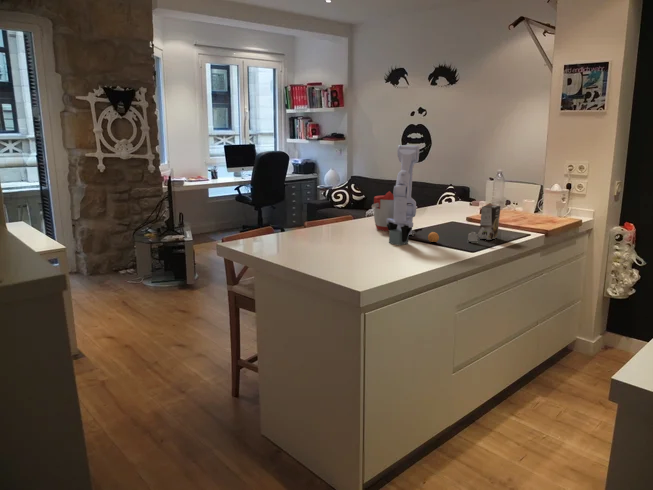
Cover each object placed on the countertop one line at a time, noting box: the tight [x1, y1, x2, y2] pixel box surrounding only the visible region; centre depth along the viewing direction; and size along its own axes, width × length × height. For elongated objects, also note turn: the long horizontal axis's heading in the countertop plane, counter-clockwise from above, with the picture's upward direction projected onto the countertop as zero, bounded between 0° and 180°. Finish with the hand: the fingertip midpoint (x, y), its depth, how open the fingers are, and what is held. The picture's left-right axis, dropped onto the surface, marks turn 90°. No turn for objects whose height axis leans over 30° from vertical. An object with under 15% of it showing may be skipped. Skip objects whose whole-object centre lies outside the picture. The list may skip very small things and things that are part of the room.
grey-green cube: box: [388, 229, 410, 246], centre depth 236 cm, size 6×6×6 cm
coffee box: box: [478, 204, 501, 239], centre depth 248 cm, size 9×6×16 cm
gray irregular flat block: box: [467, 227, 485, 241], centre depth 238 cm, size 7×2×8 cm, turn 51°
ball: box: [427, 231, 440, 243], centre depth 238 cm, size 5×5×5 cm
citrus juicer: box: [371, 190, 394, 232], centre depth 266 cm, size 16×17×20 cm
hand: (398, 240), depth 236 cm, fingers closed on grey-green cube, 6 cm apart
